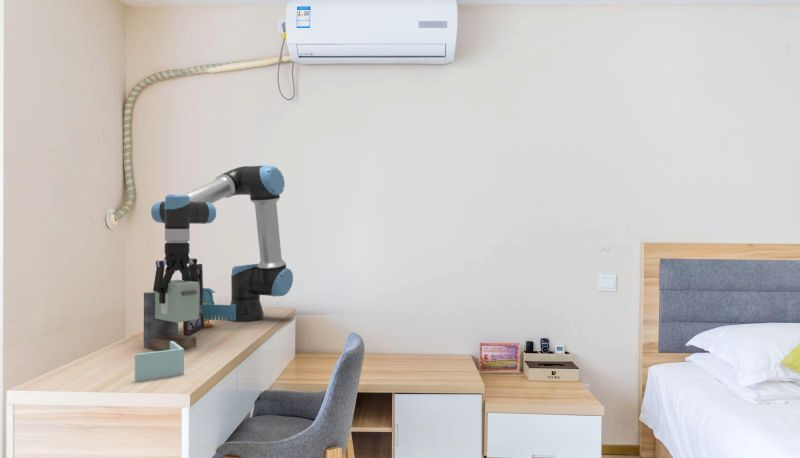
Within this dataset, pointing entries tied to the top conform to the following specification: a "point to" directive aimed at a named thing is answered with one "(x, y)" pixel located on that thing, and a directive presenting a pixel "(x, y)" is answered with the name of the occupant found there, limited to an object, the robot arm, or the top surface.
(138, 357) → the l-shaped corner panel
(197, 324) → the picture frame
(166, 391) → the top surface
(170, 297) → the cabinet box
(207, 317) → the blue toy animal
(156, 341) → the grey bookend
